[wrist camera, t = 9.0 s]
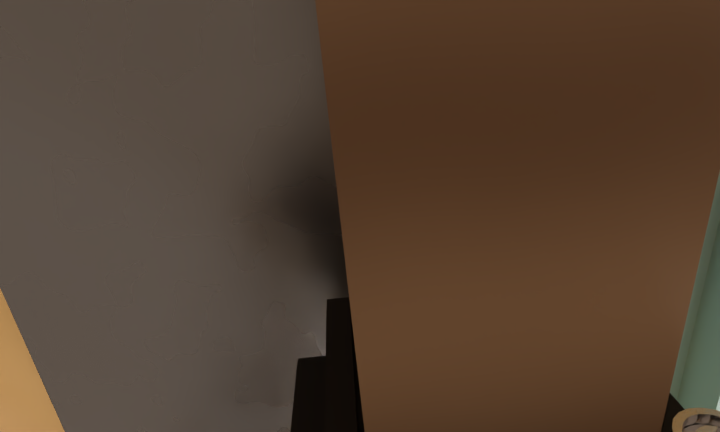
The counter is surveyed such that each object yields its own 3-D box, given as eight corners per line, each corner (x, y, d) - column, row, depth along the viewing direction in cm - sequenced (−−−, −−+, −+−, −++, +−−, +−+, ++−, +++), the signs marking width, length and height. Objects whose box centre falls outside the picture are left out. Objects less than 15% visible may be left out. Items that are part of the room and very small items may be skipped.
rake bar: (496, 555, 17) (574, 814, 12) (385, 567, 17) (410, 834, 12) (530, -242, 8) (925, -740, 3) (300, -221, 8) (236, -689, 3)
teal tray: (663, 466, 20) (700, 518, 18) (410, 493, 20) (419, 549, 18) (823, -207, 11) (934, -257, 9) (370, -168, 11) (378, -209, 9)
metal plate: (403, 494, 20) (413, 558, 17) (158, 521, 19) (135, 589, 17) (357, -167, 11) (363, -215, 9) (-89, -129, 11) (-204, -167, 8)
